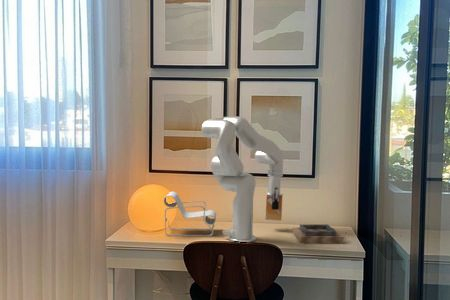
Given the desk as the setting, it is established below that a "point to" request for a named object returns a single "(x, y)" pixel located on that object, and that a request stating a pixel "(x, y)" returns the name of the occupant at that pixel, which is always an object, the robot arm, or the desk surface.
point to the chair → (190, 213)
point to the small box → (272, 213)
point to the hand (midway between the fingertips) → (274, 207)
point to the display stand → (317, 234)
